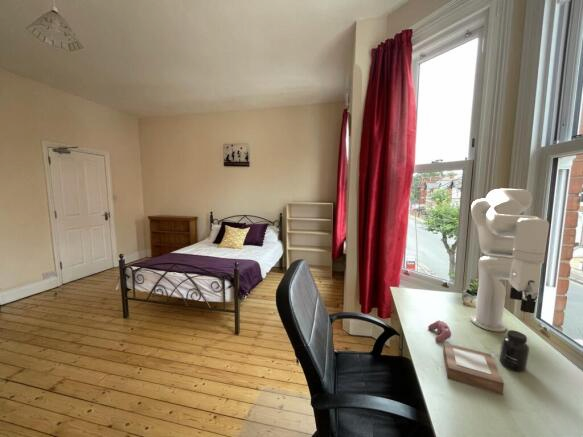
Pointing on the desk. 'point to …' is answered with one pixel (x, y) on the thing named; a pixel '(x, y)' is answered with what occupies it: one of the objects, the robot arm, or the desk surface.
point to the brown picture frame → (472, 368)
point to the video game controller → (440, 330)
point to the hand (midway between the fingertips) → (521, 305)
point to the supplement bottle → (514, 351)
